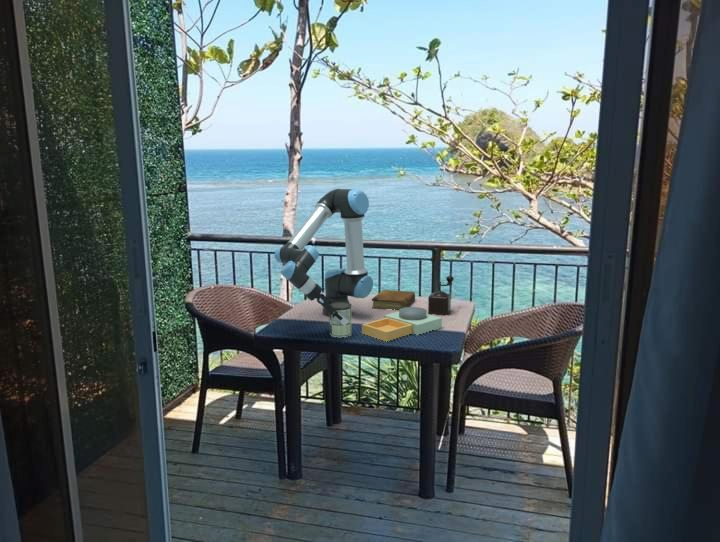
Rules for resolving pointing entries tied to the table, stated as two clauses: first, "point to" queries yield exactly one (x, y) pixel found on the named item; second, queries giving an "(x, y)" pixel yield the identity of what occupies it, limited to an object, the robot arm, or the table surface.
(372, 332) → the shallow square tray
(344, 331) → the coffee can
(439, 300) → the pepper mill
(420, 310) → the block with grey dome
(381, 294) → the diary
